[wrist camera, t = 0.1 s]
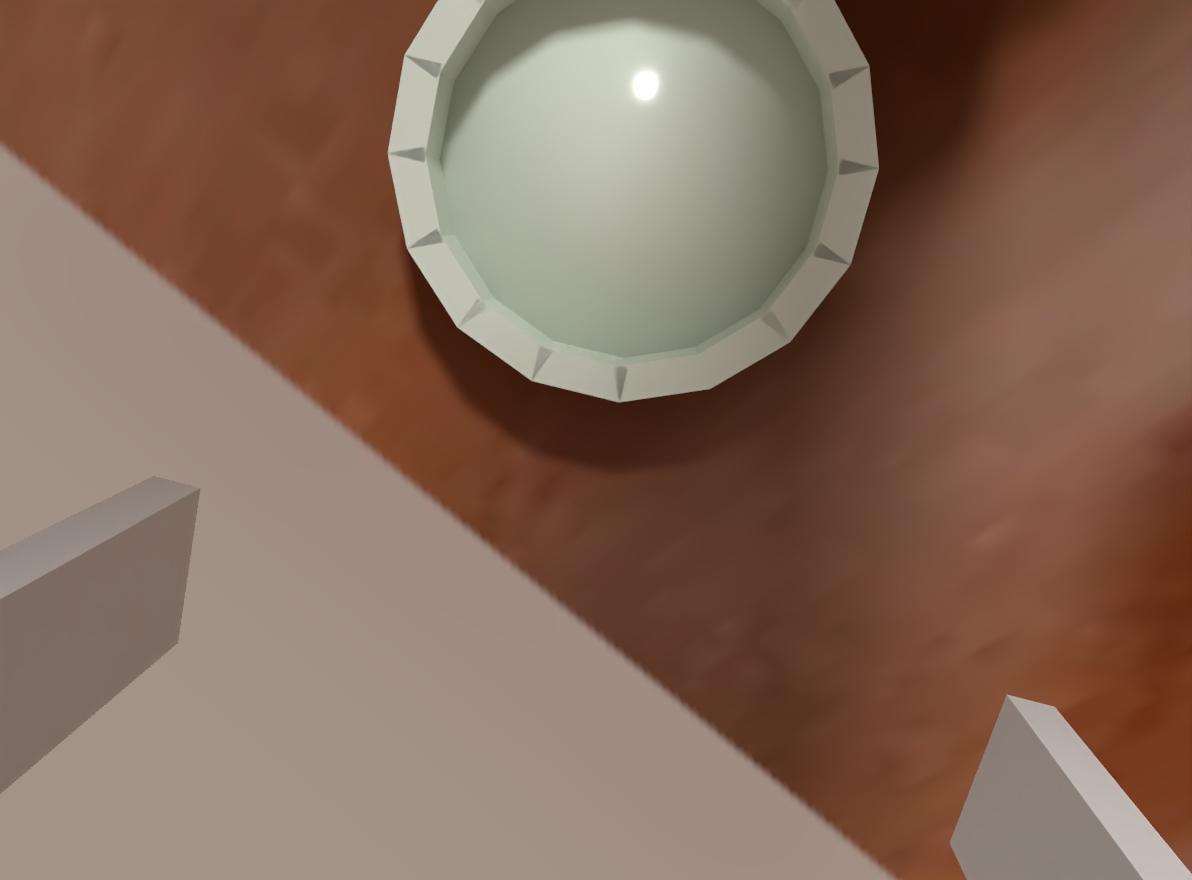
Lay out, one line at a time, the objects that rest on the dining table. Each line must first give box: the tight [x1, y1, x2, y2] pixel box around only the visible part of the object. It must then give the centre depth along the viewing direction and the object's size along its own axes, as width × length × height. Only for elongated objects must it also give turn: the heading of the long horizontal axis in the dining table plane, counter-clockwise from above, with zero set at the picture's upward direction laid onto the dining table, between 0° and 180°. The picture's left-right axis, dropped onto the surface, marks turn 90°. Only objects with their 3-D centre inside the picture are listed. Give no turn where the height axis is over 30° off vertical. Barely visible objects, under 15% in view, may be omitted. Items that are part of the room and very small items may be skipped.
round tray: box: [388, 0, 879, 403], centre depth 38 cm, size 19×19×4 cm
